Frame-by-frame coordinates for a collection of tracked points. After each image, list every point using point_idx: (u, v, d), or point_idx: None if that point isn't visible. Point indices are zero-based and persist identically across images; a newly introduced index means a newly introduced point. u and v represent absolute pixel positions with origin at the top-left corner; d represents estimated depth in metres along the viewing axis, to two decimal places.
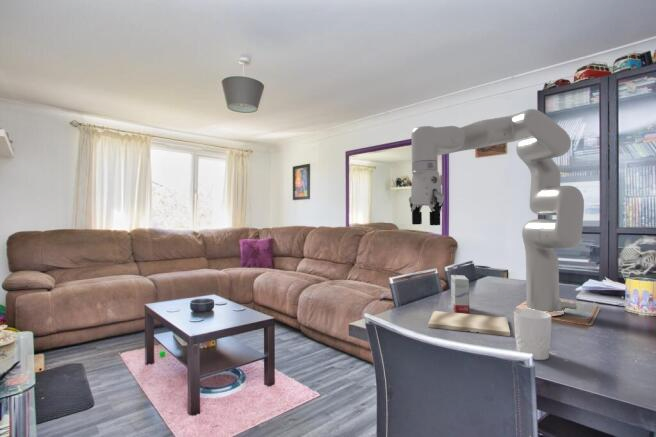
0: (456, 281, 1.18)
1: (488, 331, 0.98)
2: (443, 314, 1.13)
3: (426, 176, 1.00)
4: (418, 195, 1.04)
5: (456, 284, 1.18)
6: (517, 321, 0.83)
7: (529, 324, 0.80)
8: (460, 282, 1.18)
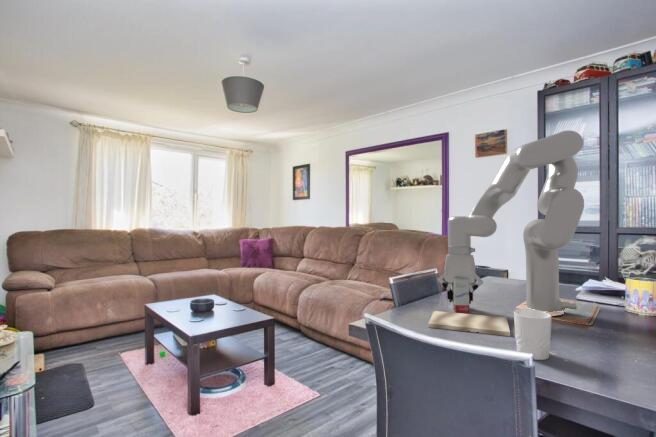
0: (456, 281, 1.18)
1: (488, 331, 0.98)
2: (443, 314, 1.13)
3: (471, 260, 1.18)
4: (459, 275, 1.19)
5: (456, 284, 1.18)
6: (517, 321, 0.83)
7: (529, 324, 0.80)
8: (460, 282, 1.18)
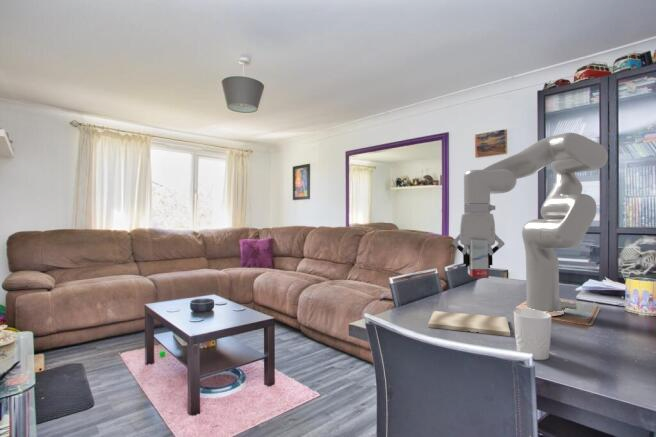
0: (473, 242, 1.05)
1: (488, 331, 0.98)
2: (443, 314, 1.13)
3: (490, 218, 1.05)
4: (477, 236, 1.06)
5: (473, 245, 1.05)
6: (517, 321, 0.83)
7: (529, 324, 0.80)
8: (478, 243, 1.04)
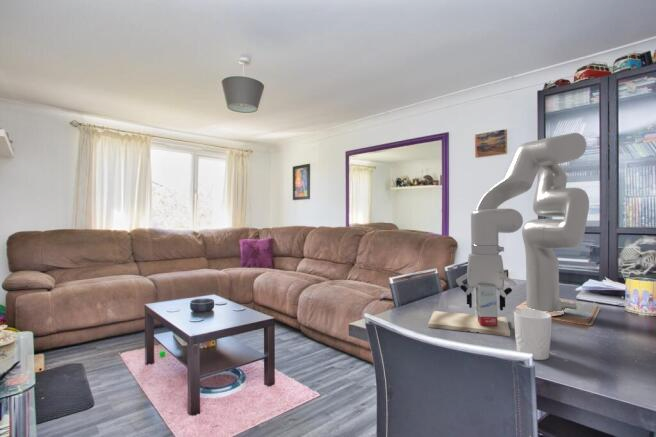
0: (481, 288, 1.01)
1: (488, 331, 0.98)
2: (443, 314, 1.13)
3: (499, 261, 1.01)
4: (485, 278, 1.02)
5: (481, 292, 1.01)
6: (517, 321, 0.83)
7: (529, 324, 0.80)
8: (486, 290, 1.00)
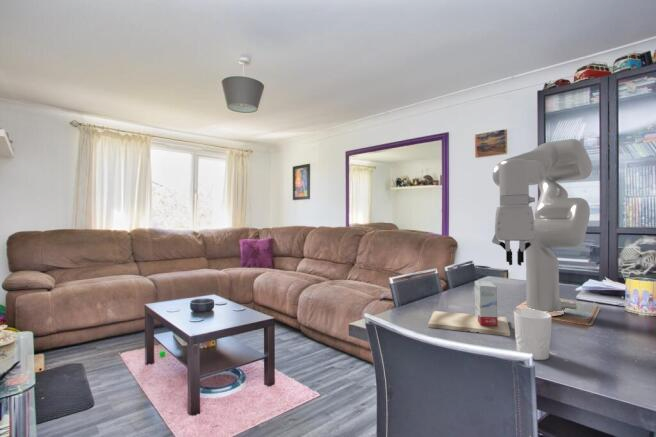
0: (481, 288, 1.01)
1: (488, 331, 0.98)
2: (443, 314, 1.13)
3: (530, 211, 0.97)
4: (515, 230, 0.98)
5: (481, 292, 1.01)
6: (517, 321, 0.83)
7: (529, 324, 0.80)
8: (486, 290, 1.00)
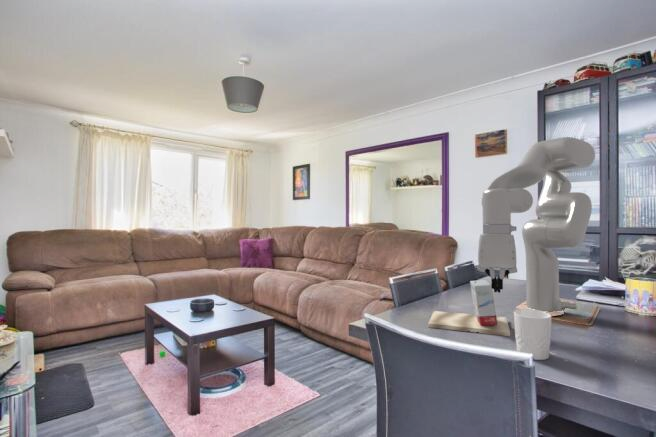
0: (477, 288, 1.01)
1: (488, 331, 0.98)
2: (443, 314, 1.13)
3: (512, 240, 0.99)
4: (497, 258, 1.00)
5: (477, 292, 1.01)
6: (517, 321, 0.83)
7: (529, 324, 0.80)
8: (482, 289, 1.01)
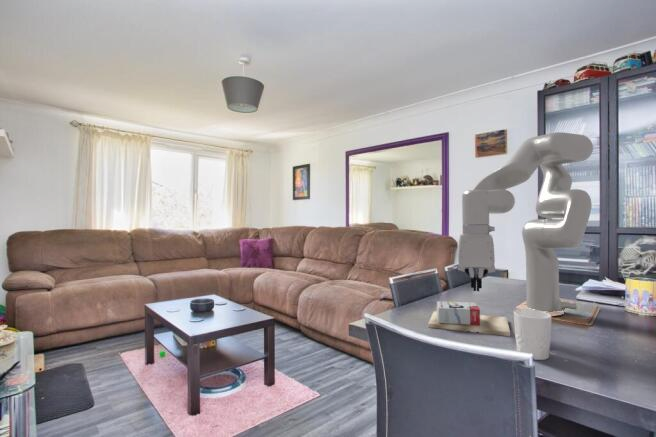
0: (441, 321, 1.03)
1: (488, 331, 0.98)
2: None
3: (490, 240, 1.01)
4: (476, 258, 1.03)
5: (444, 321, 1.03)
6: (517, 321, 0.83)
7: (529, 324, 0.80)
8: (442, 317, 1.03)
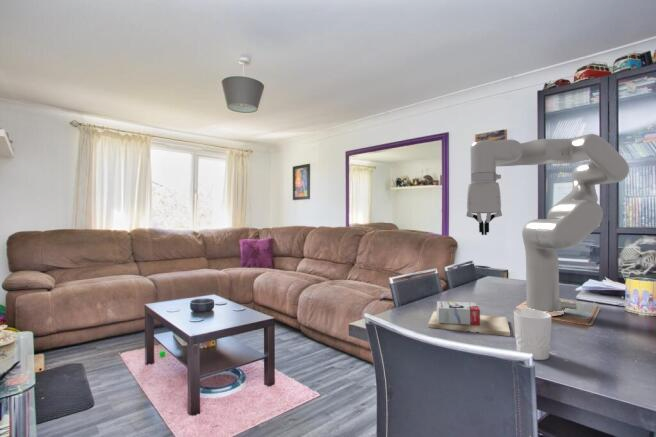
0: (441, 321, 1.03)
1: (488, 331, 0.98)
2: None
3: (497, 186, 1.10)
4: (484, 203, 1.11)
5: (444, 321, 1.03)
6: (517, 321, 0.83)
7: (529, 324, 0.80)
8: (442, 317, 1.03)
